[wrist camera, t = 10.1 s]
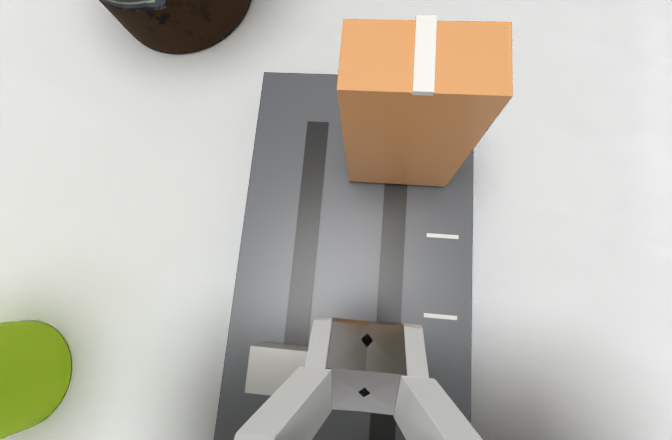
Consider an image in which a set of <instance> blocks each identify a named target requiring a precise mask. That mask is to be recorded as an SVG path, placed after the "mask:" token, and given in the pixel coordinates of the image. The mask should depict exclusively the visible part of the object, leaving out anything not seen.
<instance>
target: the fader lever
mask: <svg viewBox="0 0 672 440" xmlns="http://www.w3.org/2000/svg"><path fill="white" fill-rule="evenodd" d="M337 96H338V103H339V111H340V118H341V126H342V134H343V141H344V149H345V156H346V164H347V171H348V179H349V181H354V182H371V183H388V184H405V185H422V186H439V187H445V186H446V185H447V183H448V182H449V181H450V179H451V178H452V177H453V175H454V174H455V173H456V171H457V170H458V169H459V167H460V166H461V165H462V163H463V162H464V161H465V159H466V158H467V157H468V155H469V154H470V153H471V151H472V150H473V149H474V147H475V146H476V145H477V143H478V142H479V141H480V139H481V138H482V136H483V135H484V134H485V132H486V131H487V130H488V128H489V127H490V126H491V124H492V123H493V122H494V120H495V119H496V118H497V116H498V115H499V114H500V112H501V111H502V110H503V108H504V107H505V106H506V104H507V103H508V102H509V100H510V99H511V98H512V96H513V84H512V22H479V21H437V16H434V15H416V20H367V19H343V27H342V38H341V49H340V60H339V70H338V81H337Z"/></svg>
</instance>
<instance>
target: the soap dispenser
mask: <svg viewBox="0 0 672 440" xmlns="http://www.w3.org/2000/svg"><path fill="white" fill-rule="evenodd" d="M70 376H71V356H70V352H69V348H68V346H67V344H66V342H65V340H64V338H63V337H62V336H61V334H60V333H59V332H58V331H57V330H56V329H54V328H53V327H51V326H50V325H48V324H45V323H42V322H39V321H18V322H5V323H0V439H2V438H4V437H7V436H9V435H12V434H14V433H17V432H19V431H22V430H24V429H27V428H29V427H32V426H34V425H36V424H38V423H40V422H41V421H43V420H44V419H45V418H47V417H48V416H49V415H50V414H51V413H52V412H53V411H54V410H55V409H56V408H57V406H58V405H59V403H60V402H61V400H62V399H63V397H64V395H65V393H66V390H67V388H68V385H69V381H70Z"/></svg>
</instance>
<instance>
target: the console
mask: <svg viewBox="0 0 672 440" xmlns="http://www.w3.org/2000/svg"><path fill="white" fill-rule="evenodd" d="M337 81H338V75H334V74H302V73H271V72H264V77H263V84H262V91H261V99H260V106H259V113H258V121H257V128H256V135H255V143H254V150H253V157H252V164H251V172H250V179H249V186H248V194H247V201H246V208H245V216H244V223H243V230H242V237H241V245H240V252H239V259H238V267H237V274H236V281H235V288H234V296H233V303H232V310H231V318H230V325H229V332H228V340H227V347H226V354H225V361H224V369H223V376H222V383H221V391H220V398H219V405H218V413H217V420H216V427H215V434H214V440H234V437H235V434H236V432H237V431H238V430H239V429H240V428H241V427H242V426H243V425H244V424H245V423H246V422H247V421H248V420H249V419H250V418H251V416H252V415H253V414H254V413H255V412H256V411H257V410H258V409H259V408H260V407H261V406H262V405H263V404H264V403H265V402H266V401H267V400H268V399H269V398H270V397H271V396H272V395H273V393H274V392H275V391H276V390H277V389H278V388H279V387H280V386H281V385H282V384H283V383H284V382H285V381H286V380H287V379H288V378H289V377H290V376H291V375H292V374H293V373H294V372H295V370H296V369H297V368H298V367H299V366H302V367H305V363H306V357H307V352H308V346H309V341H310V336H311V330H312V325H313V320H314V318H315V316H322V317H334V318H343V319H353V320H362V321H367V320H368V321H383V322H398V323H402V324H403V323H407V324H420V325H421V326H422V328H423V335H424V343H425V351H426V358H427V366H428V373H429V378H434V379H435V380H436V381H437V382H438V383H439V385H440V386H441V387H442V388H443V390H444V391H445V392H446V393H447V395H448V396H449V397H450V399H451V400H452V401H453V402H454V404H455V405H456V406H457V407H458V409H459V410H460V411H461V412H462V414H463V415H464V416H465V418H466V419H467V420H468V421H469V423H470V418H471V327H472V237H473V150H472V151H471V153H470V154H469V155H468V157H467V158H466V159H465V161H464V162H463V163H462V165H461V166H460V167H459V169H458V170H457V171H456V173H455V174H454V175H453V177H452V178H451V179H450V181H449V182H448V183H447V185H446V186H445V187H439V186H422V185H405V184H388V183H371V182H354V181H349V179H348V171H347V164H346V156H345V149H344V141H343V134H342V126H341V118H340V111H339V103H338V96H337ZM312 440H406V439H405V437H404V435H403V433H402V431H401V430H400V428H399V426H398V424H397V422H396V421H395V419H394V415H387V414H379V413H371V412H363V410H362V411H349V410H335V409H331V413H330V414H329V416H328V417H327V418H326V420H325V421H324V423H323V424H322V426H321V427H320V429H319V430H318V431H317V433H316V434H315V436H314V437H313V439H312Z"/></svg>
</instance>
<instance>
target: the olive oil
mask: <svg viewBox="0 0 672 440" xmlns="http://www.w3.org/2000/svg"><path fill="white" fill-rule="evenodd" d="M99 1H100V2H101V3H102V4H103V5H104V6H105V7H106V8H107V9H108V10H109V11H110V12H111V13H112V14H113V15H114V16H115V18H116V19H117V20H118V21H119V22H120V23H121V24H122V25H123V26H124V27H125V28H126V29H127V30H128V31H129V32H130V33H131V34H132V35H133V36H134V37H135V38H136V39H137V40H138V41H140V42H141V43H143V44H144V45H146V46H148V47H150V48H152V49H155V50H158V51H162V52H167V53H187V52H192V51H197V50H200V49H203V48H206V47H208V46H210V45H212V44H214V43H216V42H218V41H219V40H221V39H222V38H224V37H225V36H226V35H228V34H229V33H230V32H231V31H232V30H233V29H234V28H235V27H236V26H237V25H238V23H239V22H240V21H241V19H242V18H243V16H244V14H245V13H246V11H247V8H248V6H249V3H250V0H99Z"/></svg>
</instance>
